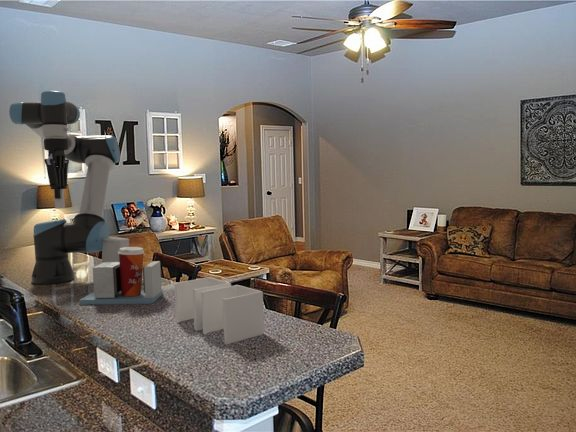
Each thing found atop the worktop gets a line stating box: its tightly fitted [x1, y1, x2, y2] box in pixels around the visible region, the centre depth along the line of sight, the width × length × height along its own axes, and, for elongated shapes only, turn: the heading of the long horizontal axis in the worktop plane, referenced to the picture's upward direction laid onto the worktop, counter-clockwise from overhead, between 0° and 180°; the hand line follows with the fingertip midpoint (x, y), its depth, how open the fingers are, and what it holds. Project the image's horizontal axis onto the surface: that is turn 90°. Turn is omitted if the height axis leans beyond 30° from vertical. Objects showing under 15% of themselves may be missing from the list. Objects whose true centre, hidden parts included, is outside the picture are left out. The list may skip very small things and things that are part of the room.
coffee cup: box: [118, 246, 145, 296], centre depth 168 cm, size 8×8×15 cm
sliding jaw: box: [92, 262, 121, 298], centre depth 168 cm, size 10×7×10 cm
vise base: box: [79, 260, 164, 306], centre depth 168 cm, size 12×23×12 cm, turn 88°
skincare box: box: [101, 236, 130, 264], centre depth 202 cm, size 8×7×16 cm
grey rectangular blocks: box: [174, 276, 265, 345], centre depth 135 cm, size 25×11×11 cm, turn 40°
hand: (60, 208), depth 177 cm, fingers closed
